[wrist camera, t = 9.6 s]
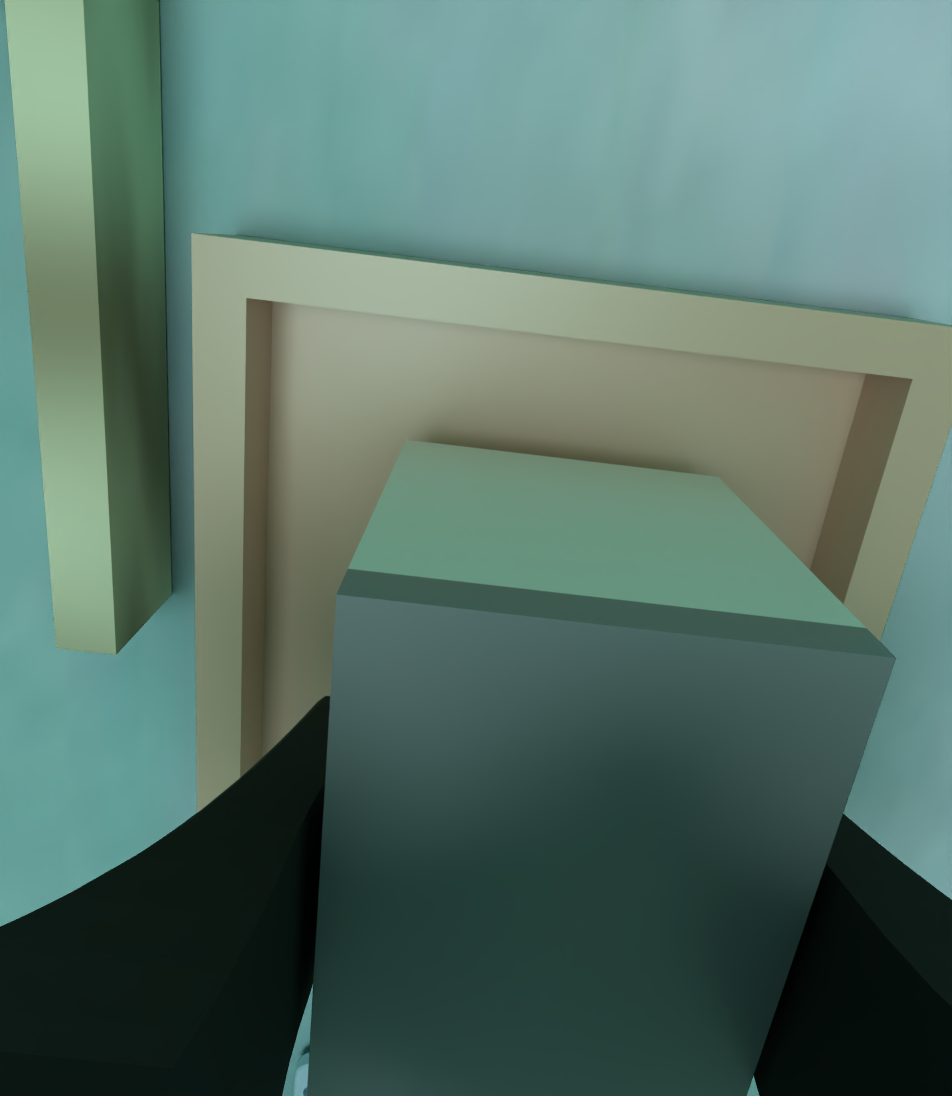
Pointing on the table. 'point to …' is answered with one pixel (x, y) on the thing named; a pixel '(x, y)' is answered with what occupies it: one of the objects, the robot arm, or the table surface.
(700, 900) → the grey-green upright block
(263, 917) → the robot arm
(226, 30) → the table surface
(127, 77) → the bay
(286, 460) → the tray
